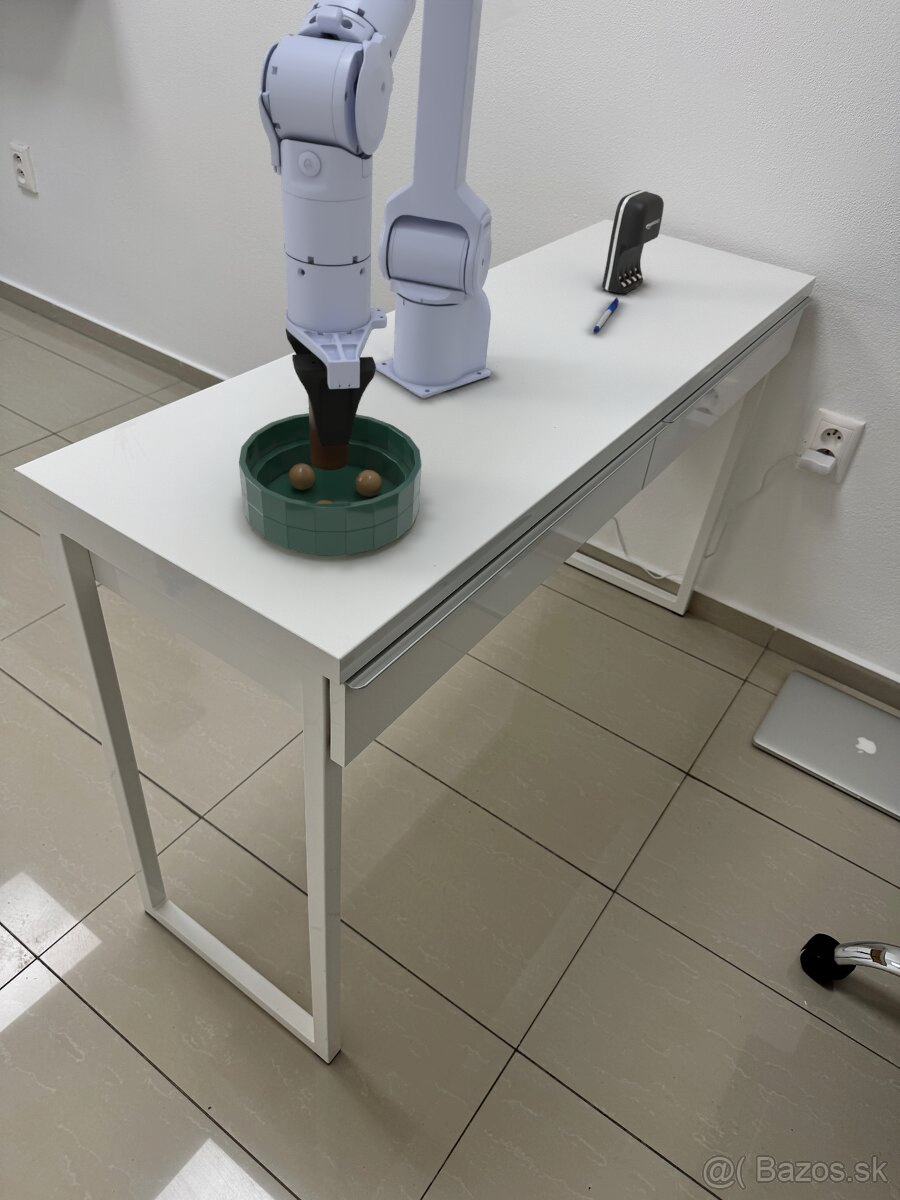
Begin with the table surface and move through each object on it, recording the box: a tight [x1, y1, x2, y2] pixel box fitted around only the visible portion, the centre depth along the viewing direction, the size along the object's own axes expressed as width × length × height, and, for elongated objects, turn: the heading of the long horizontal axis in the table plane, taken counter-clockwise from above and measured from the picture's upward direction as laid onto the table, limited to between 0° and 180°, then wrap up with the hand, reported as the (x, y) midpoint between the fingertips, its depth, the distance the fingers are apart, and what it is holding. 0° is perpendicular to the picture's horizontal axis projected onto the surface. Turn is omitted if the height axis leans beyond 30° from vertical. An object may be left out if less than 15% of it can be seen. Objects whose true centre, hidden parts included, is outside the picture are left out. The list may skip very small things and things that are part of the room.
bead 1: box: [288, 463, 315, 490], centre depth 71 cm, size 2×2×2 cm
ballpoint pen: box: [593, 297, 620, 333], centre depth 105 cm, size 10×1×1 cm, turn 159°
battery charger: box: [601, 189, 665, 294], centre depth 110 cm, size 7×4×11 cm, turn 143°
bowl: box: [238, 412, 422, 557], centre depth 70 cm, size 14×14×5 cm
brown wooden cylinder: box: [307, 353, 349, 470], centre depth 66 cm, size 3×3×8 cm
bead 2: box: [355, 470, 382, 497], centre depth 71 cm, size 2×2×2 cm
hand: (330, 431), depth 67 cm, fingers closed on brown wooden cylinder, 3 cm apart
